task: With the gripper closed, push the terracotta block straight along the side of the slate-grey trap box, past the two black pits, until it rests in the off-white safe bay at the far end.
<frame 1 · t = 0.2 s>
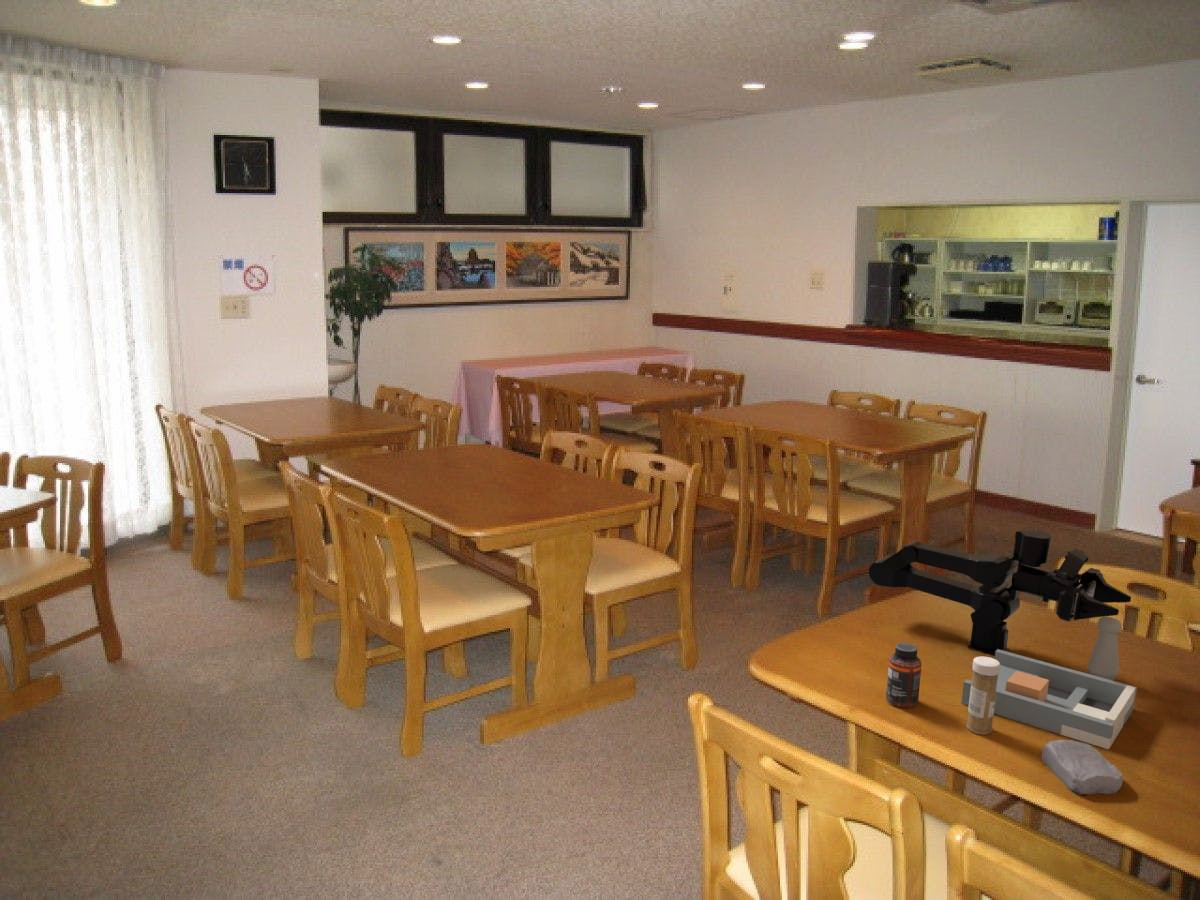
hand: (1124, 605, 200), 17 cm above the table, tool horizontal, fingers open, 9 cm apart
sprinkles bottle: (978, 730, 184), on the table
salt shaker: (1101, 680, 206), on the table
supplement bottle: (901, 702, 194), on the table
stone block: (1083, 778, 170), on the table
terracotta block: (1025, 700, 192), point 2 cm above the table, touching trap box
trap box: (1047, 706, 194), on the table
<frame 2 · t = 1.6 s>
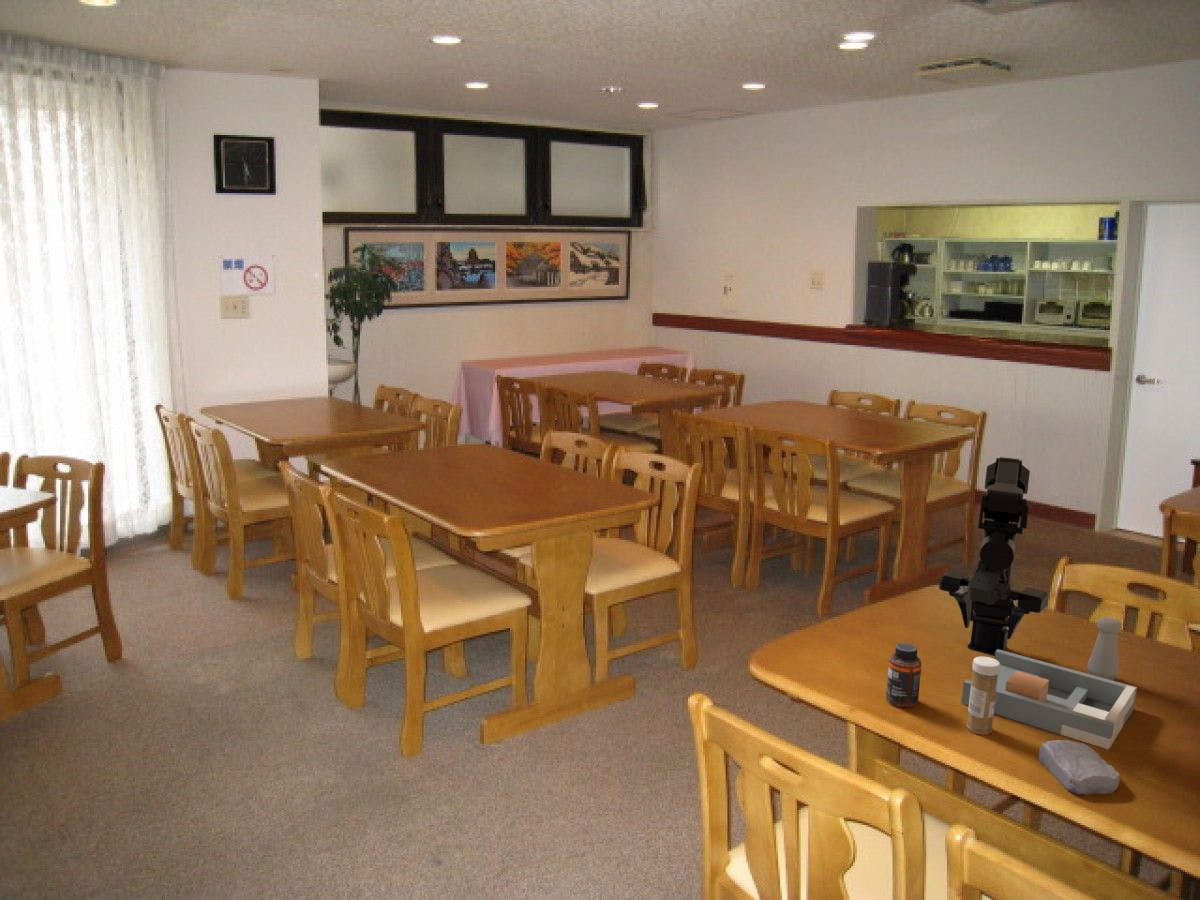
hand: (987, 633, 194), 13 cm above the table, tool pointing down, fingers open, 8 cm apart
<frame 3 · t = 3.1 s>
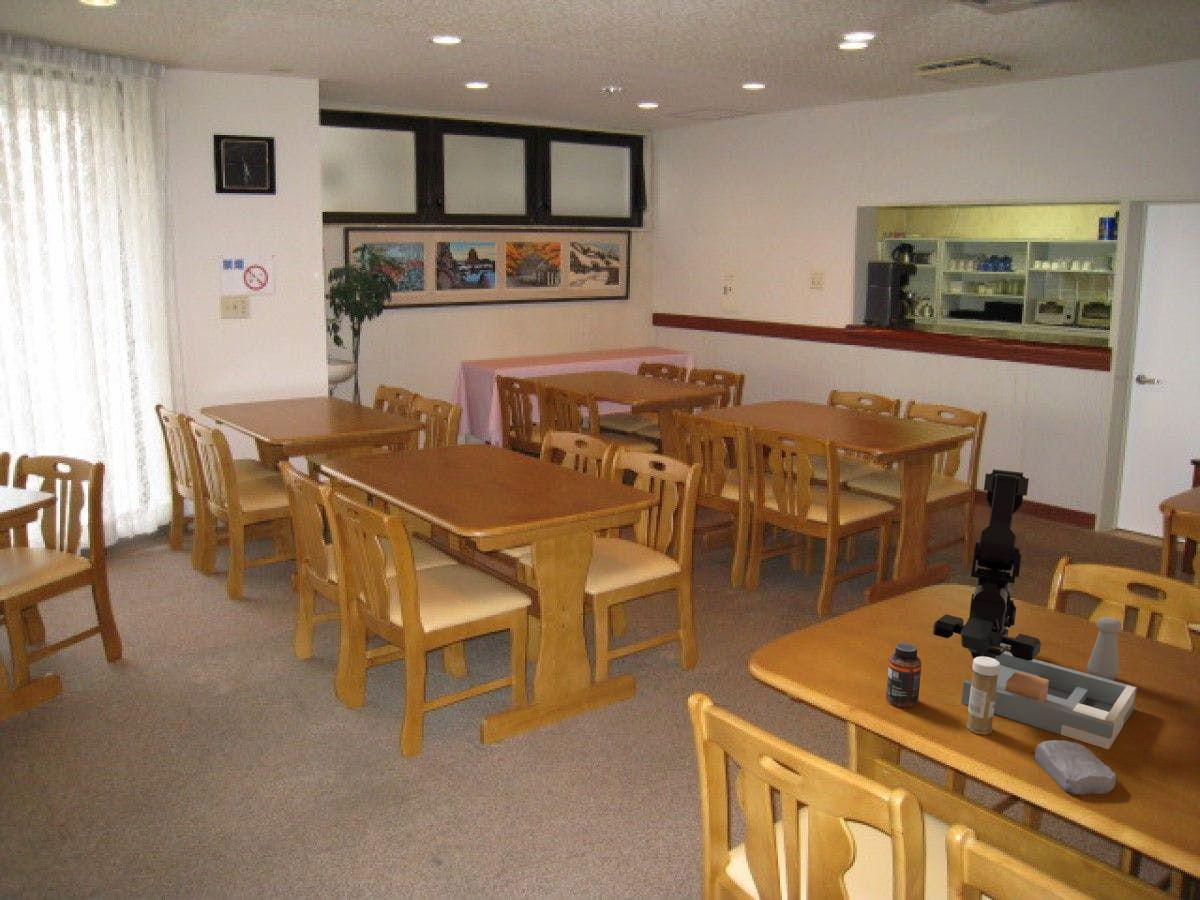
hand: (981, 677, 197), 4 cm above the table, tool pointing down, fingers closed
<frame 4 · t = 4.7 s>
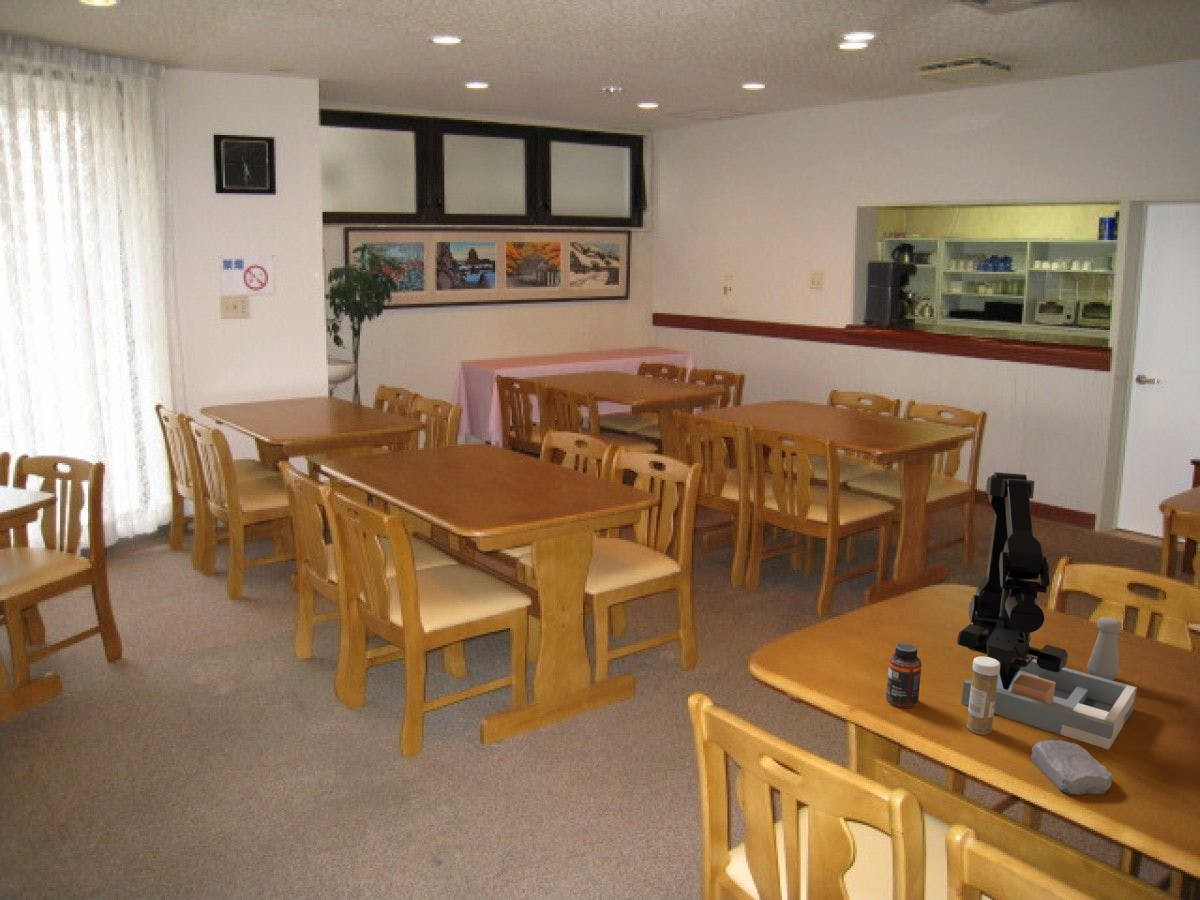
hand: (1006, 688, 194), 3 cm above the table, tool pointing down, fingers closed
terracotta block: (1031, 702, 191), point 2 cm above the table, touching trap box
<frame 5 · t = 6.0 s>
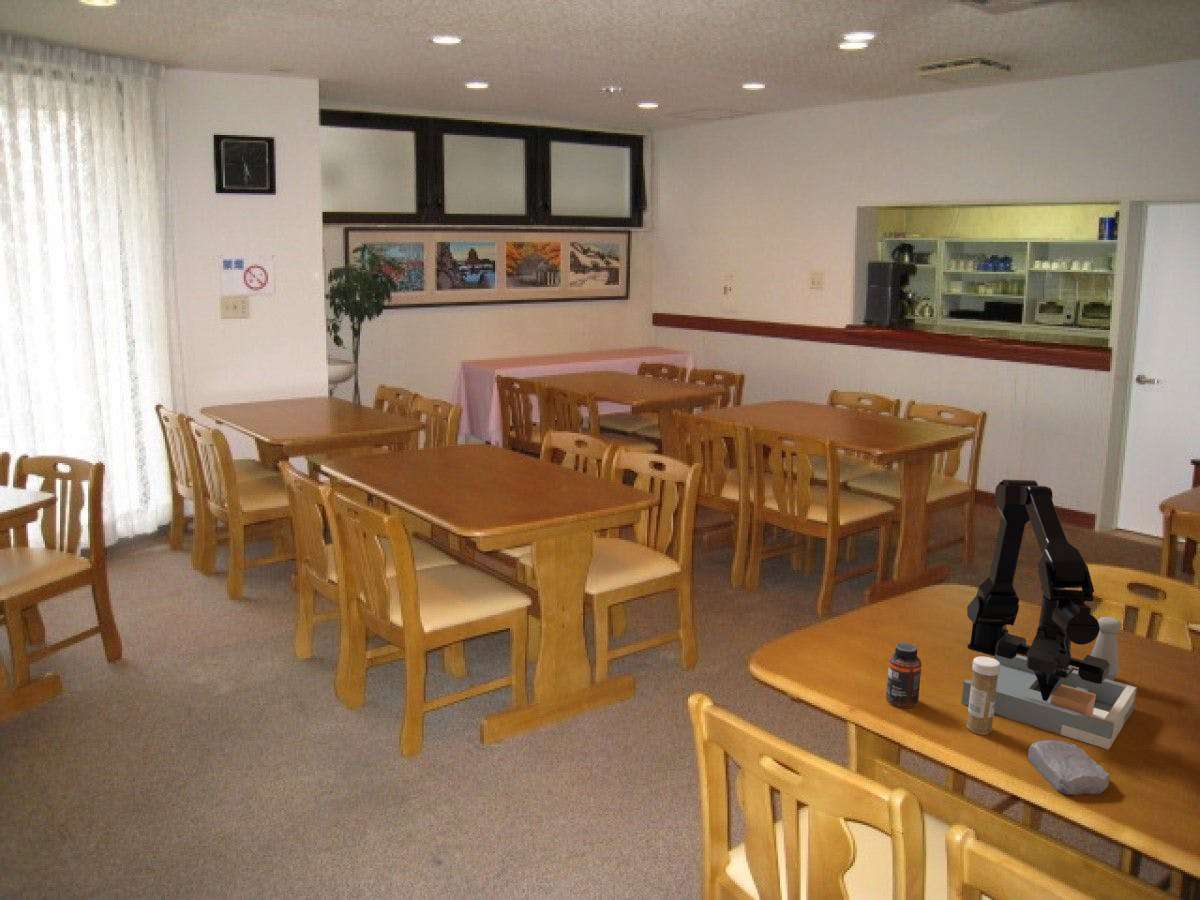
hand: (1045, 700, 189), 3 cm above the table, tool pointing down, fingers closed
terracotta block: (1071, 714, 187), point 2 cm above the table, touching gripper
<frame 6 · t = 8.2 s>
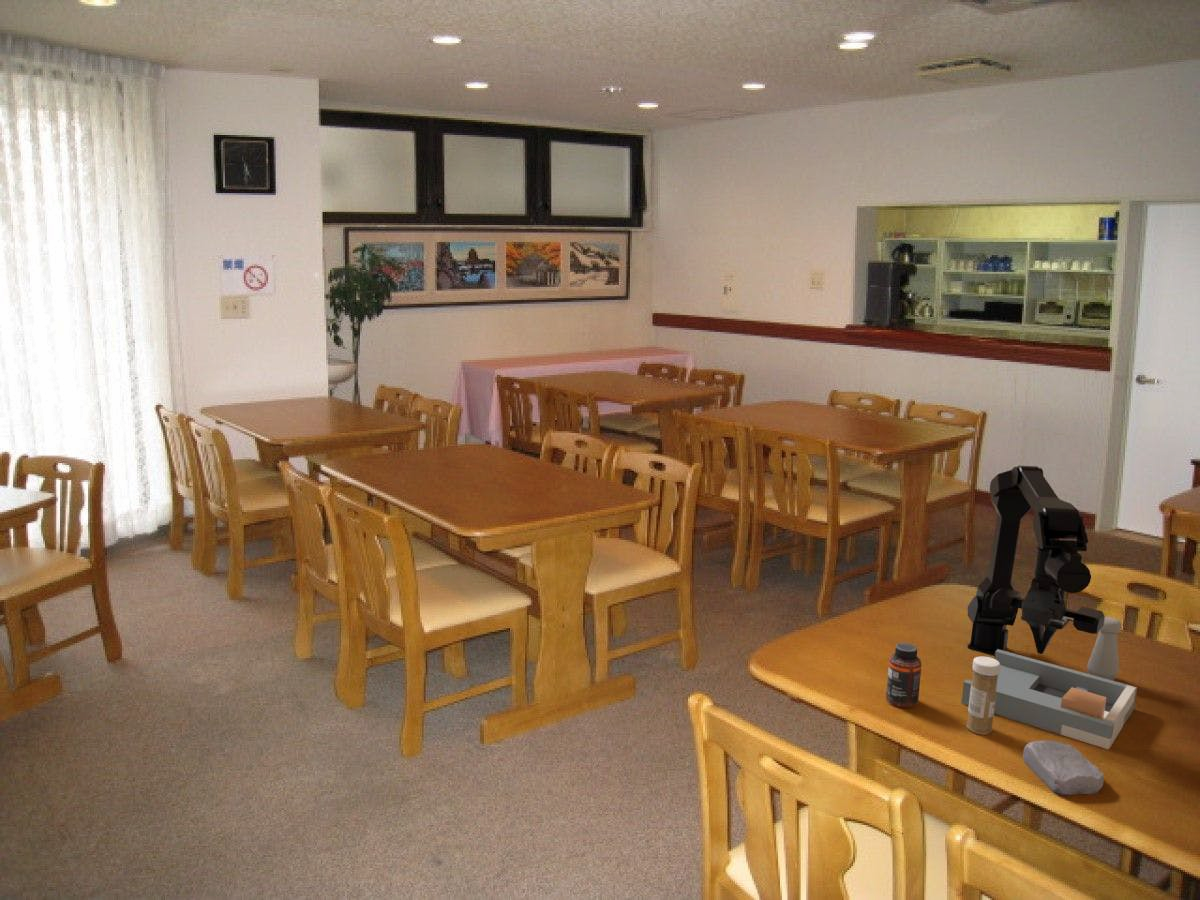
hand: (1040, 653, 188), 12 cm above the table, tool pointing down, fingers closed
terracotta block: (1081, 717, 185), point 2 cm above the table, touching trap box
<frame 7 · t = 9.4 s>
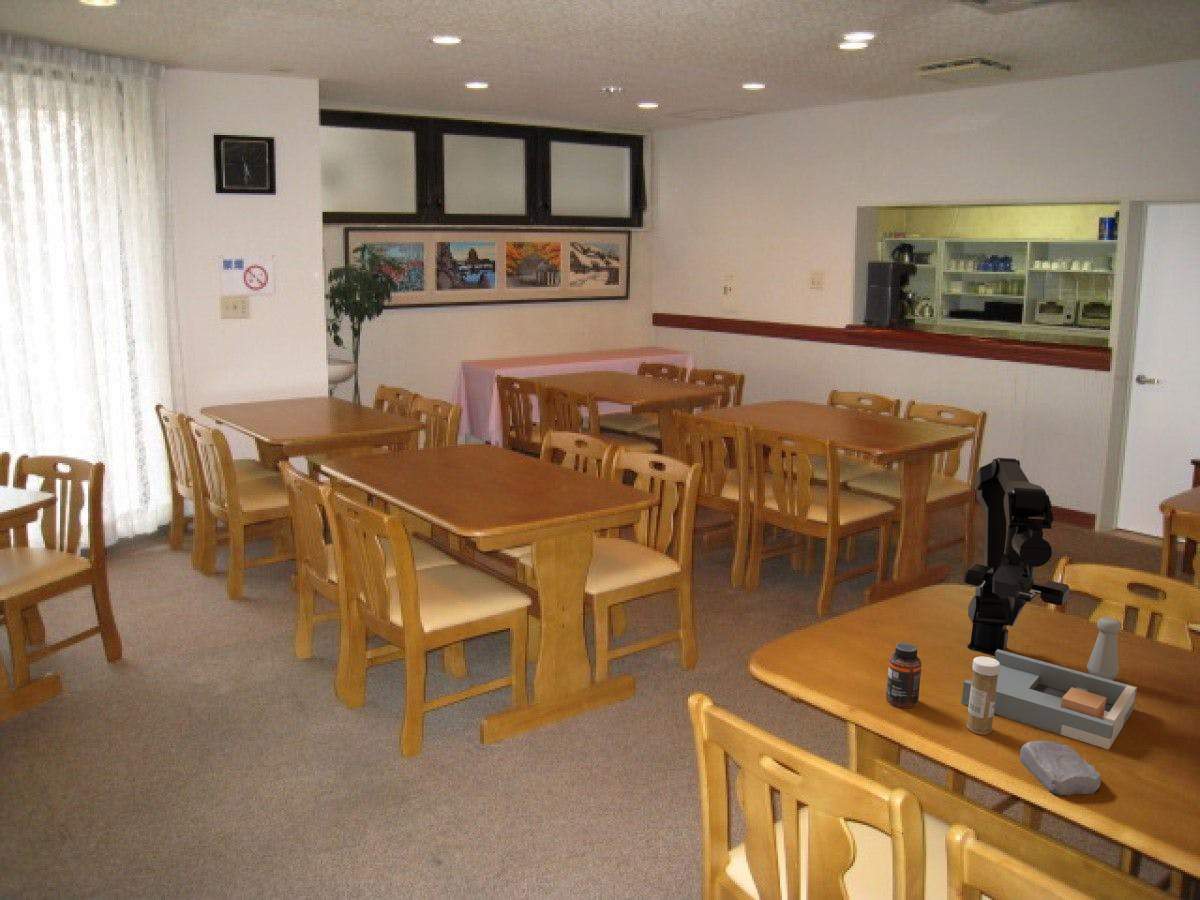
hand: (1010, 624, 202), 12 cm above the table, tool pointing down, fingers closed
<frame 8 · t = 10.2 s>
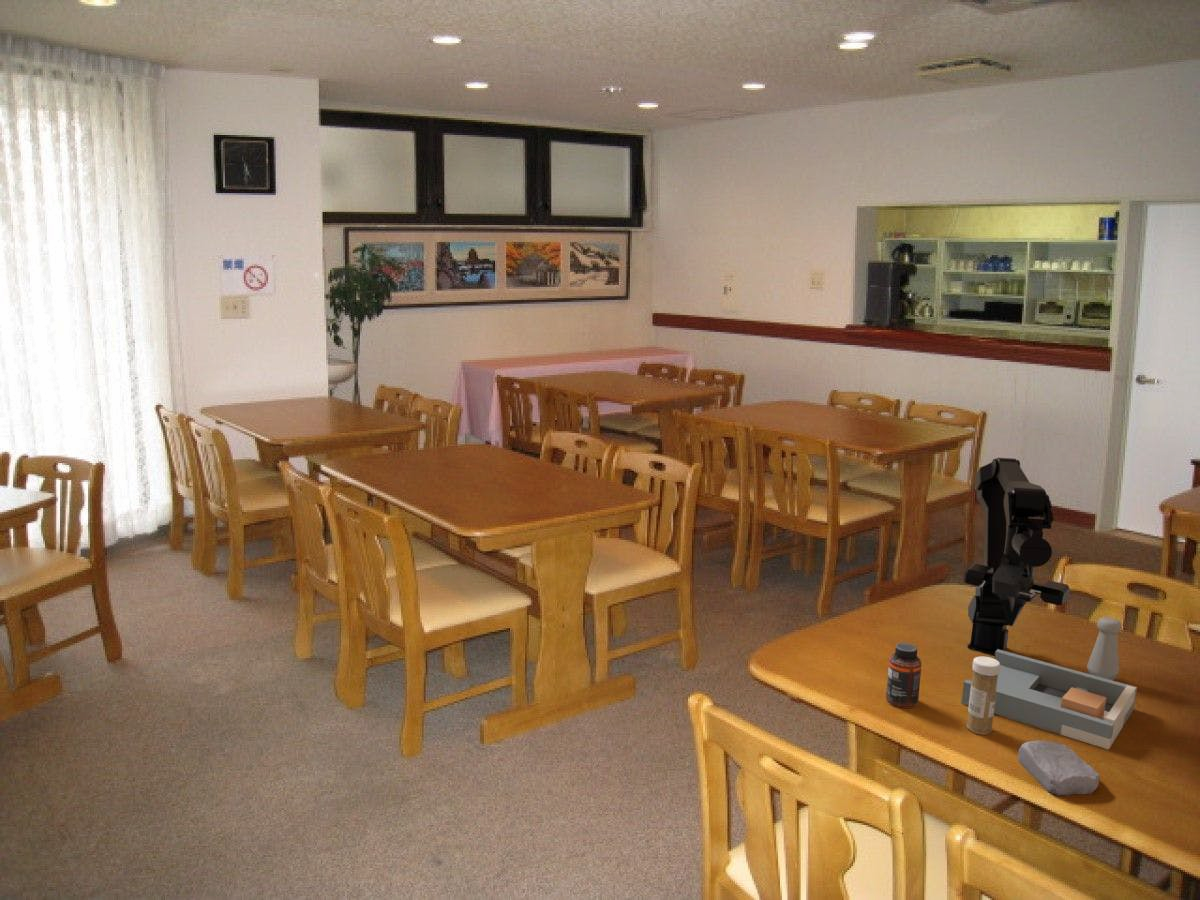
hand: (1010, 624, 202), 12 cm above the table, tool pointing down, fingers closed
at the end: terracotta block inside the target area on the trap box (0.6 cm from its centre), point 2.0 cm above the trap box's base; terracotta block tilted 0° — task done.
